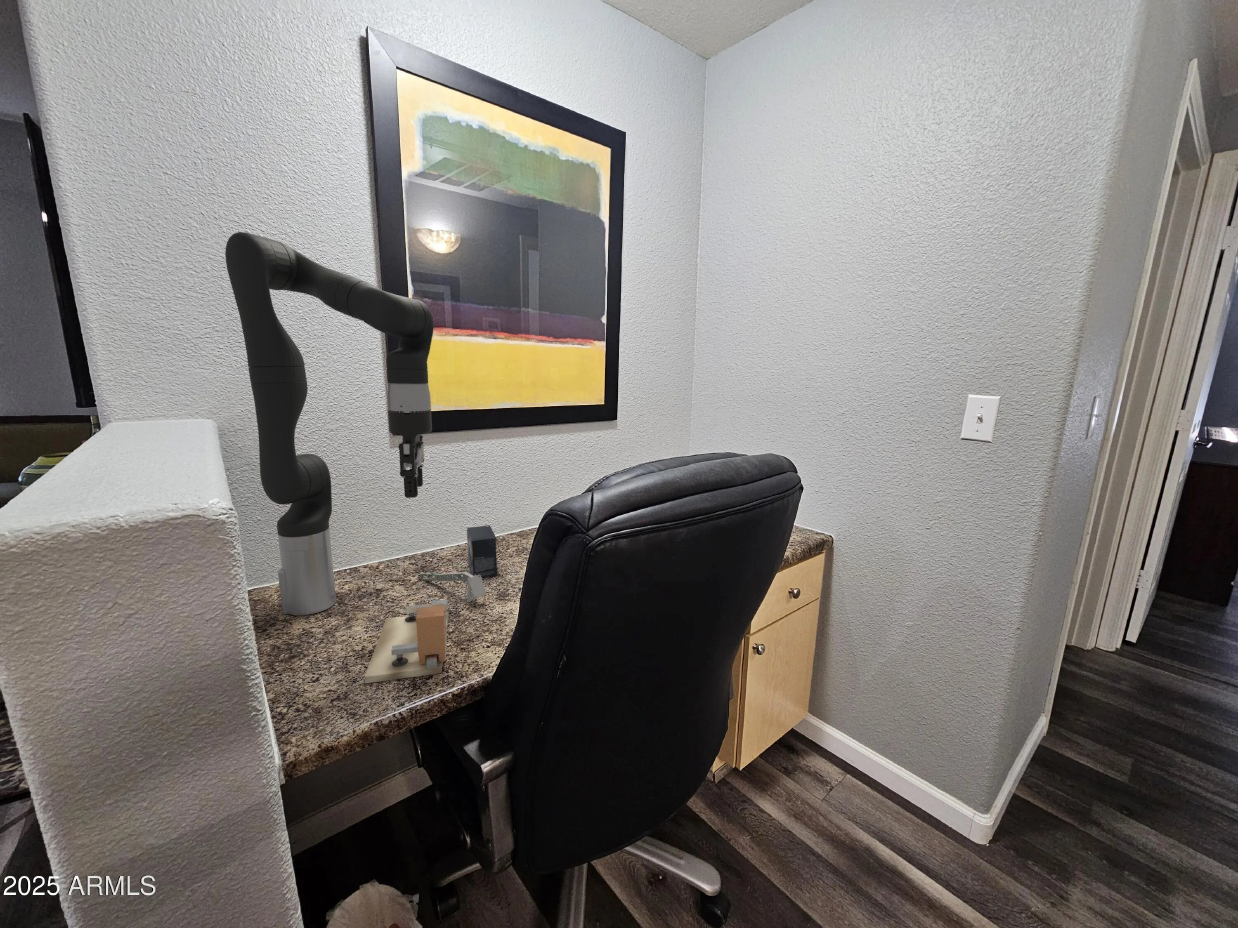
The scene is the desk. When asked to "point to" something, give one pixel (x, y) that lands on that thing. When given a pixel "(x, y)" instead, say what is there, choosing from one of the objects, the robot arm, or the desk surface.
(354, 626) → the desk surface
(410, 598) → the desk surface
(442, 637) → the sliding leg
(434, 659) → the divider beam
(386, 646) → the bolt plate
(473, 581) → the bracket
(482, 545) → the small box
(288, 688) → the desk surface
